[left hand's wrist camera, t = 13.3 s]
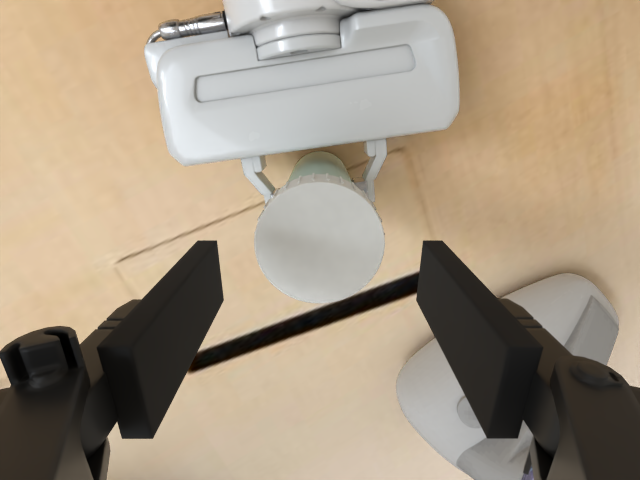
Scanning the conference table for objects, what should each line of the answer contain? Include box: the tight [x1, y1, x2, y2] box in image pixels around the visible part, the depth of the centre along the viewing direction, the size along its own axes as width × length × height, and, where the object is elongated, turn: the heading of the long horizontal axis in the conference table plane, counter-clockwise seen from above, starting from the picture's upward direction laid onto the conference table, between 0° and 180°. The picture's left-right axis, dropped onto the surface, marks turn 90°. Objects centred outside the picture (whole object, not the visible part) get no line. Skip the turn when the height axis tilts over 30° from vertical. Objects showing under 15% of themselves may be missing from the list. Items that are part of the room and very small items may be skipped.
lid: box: [254, 173, 385, 303], centre depth 17 cm, size 6×6×2 cm
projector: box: [396, 273, 619, 480], centre depth 33 cm, size 22×23×15 cm
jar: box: [288, 151, 352, 183], centre depth 25 cm, size 5×5×17 cm
